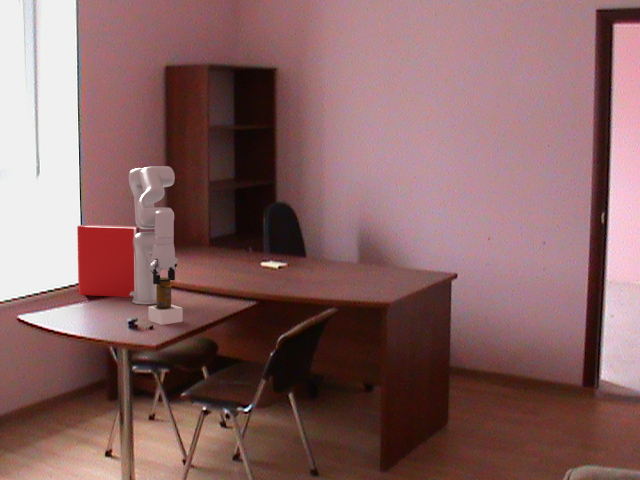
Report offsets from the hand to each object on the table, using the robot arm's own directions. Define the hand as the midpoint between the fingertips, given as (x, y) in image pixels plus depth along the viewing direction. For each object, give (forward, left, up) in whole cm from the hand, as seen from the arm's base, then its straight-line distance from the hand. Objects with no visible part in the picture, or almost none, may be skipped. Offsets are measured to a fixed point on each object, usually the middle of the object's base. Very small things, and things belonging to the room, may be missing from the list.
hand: (164, 282), depth 374 cm
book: (-55, +31, -16) cm, 65 cm away
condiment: (+1, -1, -11) cm, 11 cm away
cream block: (+1, -1, -16) cm, 16 cm away
